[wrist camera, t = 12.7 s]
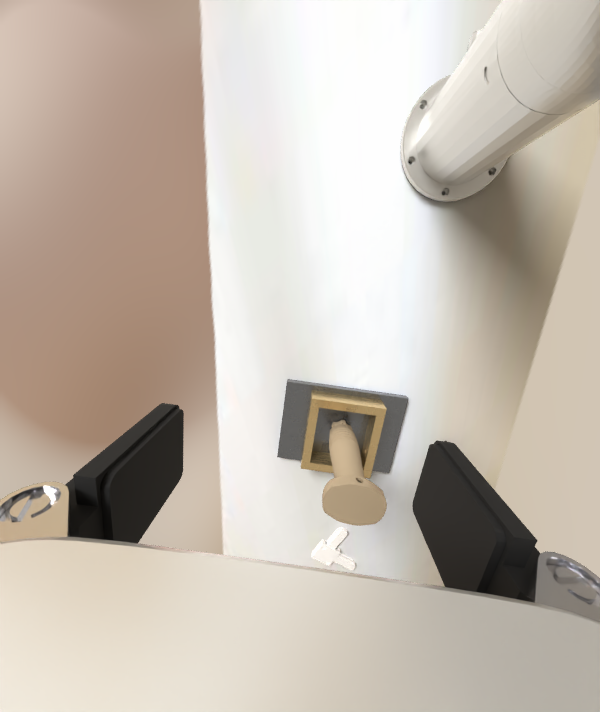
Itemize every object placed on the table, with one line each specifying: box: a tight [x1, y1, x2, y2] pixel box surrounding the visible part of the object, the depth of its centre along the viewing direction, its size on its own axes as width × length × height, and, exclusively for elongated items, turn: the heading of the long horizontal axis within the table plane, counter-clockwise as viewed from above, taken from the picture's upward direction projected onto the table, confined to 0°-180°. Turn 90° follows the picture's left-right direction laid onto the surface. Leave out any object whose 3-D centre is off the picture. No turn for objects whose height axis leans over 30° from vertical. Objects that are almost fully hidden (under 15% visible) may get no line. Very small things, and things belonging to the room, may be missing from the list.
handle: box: [322, 420, 387, 526], centre depth 35 cm, size 5×6×15 cm
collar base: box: [277, 379, 408, 478], centre depth 41 cm, size 13×18×4 cm
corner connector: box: [311, 527, 356, 571], centre depth 50 cm, size 8×8×2 cm
